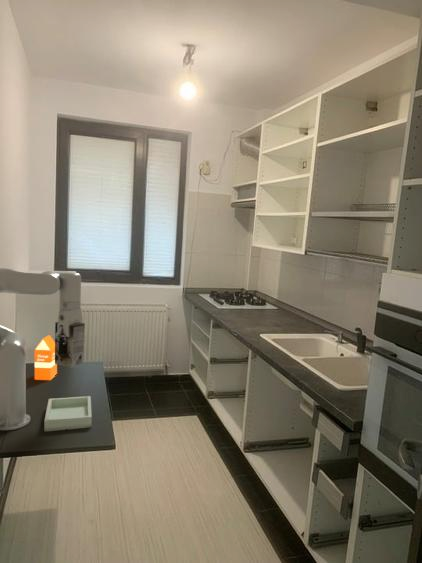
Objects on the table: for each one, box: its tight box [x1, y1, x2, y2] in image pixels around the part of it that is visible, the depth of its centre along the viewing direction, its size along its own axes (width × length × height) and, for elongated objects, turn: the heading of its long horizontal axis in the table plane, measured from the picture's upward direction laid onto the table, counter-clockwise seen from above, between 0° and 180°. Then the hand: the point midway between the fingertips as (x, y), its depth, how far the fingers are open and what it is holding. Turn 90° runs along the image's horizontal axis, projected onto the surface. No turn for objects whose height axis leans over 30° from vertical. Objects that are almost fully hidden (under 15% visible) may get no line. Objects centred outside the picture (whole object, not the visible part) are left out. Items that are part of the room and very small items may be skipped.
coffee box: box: [54, 321, 86, 369], centre depth 154 cm, size 9×6×16 cm
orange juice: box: [34, 334, 58, 381], centre depth 197 cm, size 8×9×20 cm
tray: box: [43, 395, 93, 432], centre depth 155 cm, size 20×16×4 cm
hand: (69, 351), depth 154 cm, fingers closed on coffee box, 7 cm apart
